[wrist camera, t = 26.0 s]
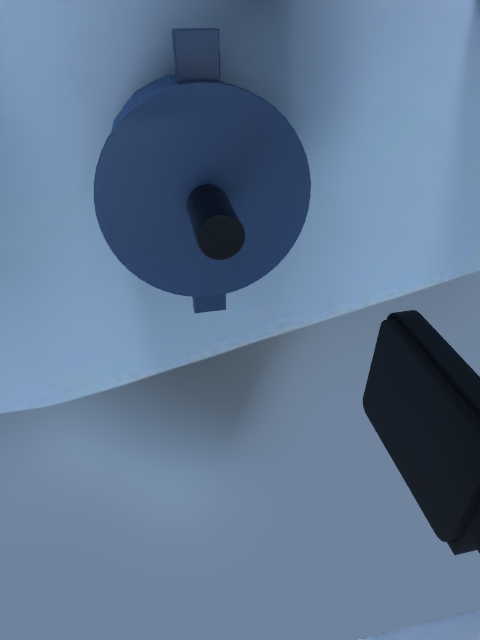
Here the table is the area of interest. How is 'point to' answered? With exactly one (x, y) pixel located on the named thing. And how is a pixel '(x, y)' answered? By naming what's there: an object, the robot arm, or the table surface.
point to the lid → (202, 188)
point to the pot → (190, 65)
